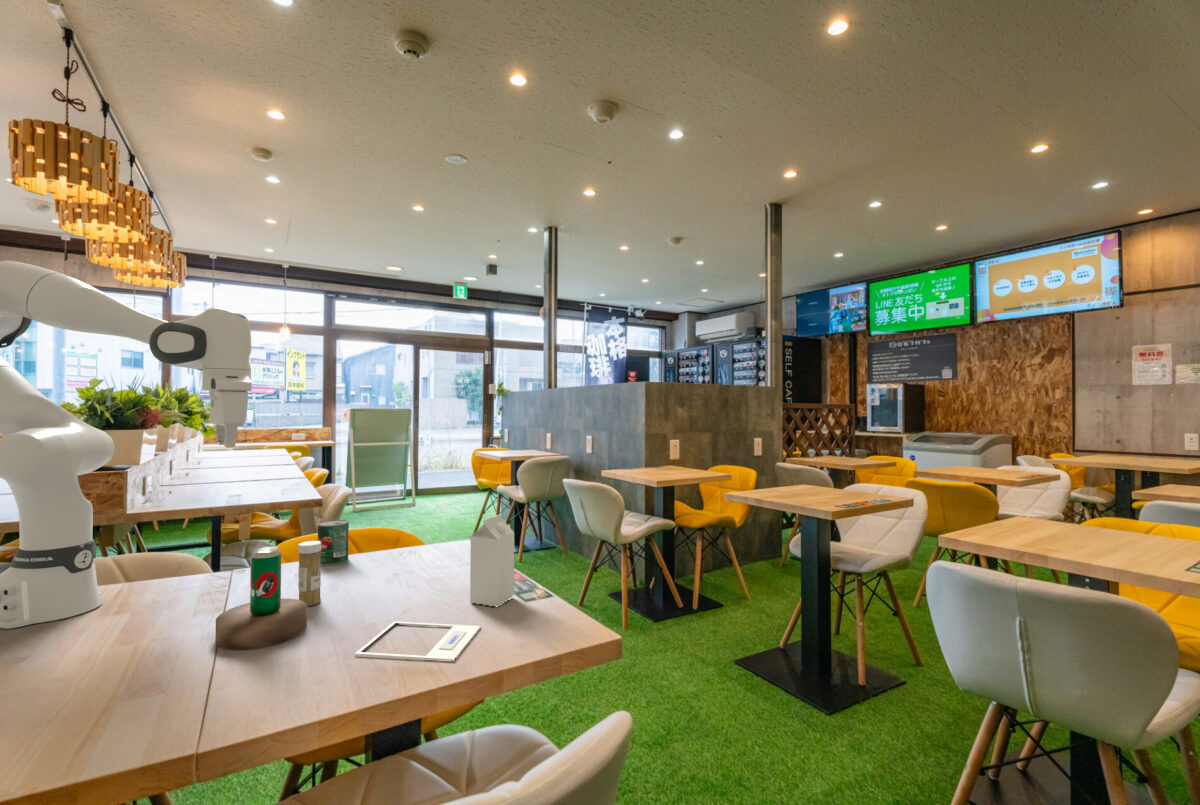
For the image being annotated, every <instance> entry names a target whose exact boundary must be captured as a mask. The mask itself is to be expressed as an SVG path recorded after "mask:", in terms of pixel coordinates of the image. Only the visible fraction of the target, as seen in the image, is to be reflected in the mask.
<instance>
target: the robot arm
mask: <svg viewBox="0 0 1200 805" xmlns="http://www.w3.org/2000/svg"><path fill="white" fill-rule="evenodd" d="M33 321H34V322H37V323H41V324H43V325H47V326H49V327H54V328H58V329H62V330H67V331H73V332H80V333H87V334H97V335H106V336H112V337H113V336H115V337H121V338H127V339H132V340H135V341H139V342H140V343H143V344H146V345H149V350H150V351H151V354H152V356H153V357H154V358H155V359H157V360H158V361H159V362H161V363H163V364H166V365H168V366H172V367H179V368H186V369H187V368H188V369H195V370H198V371H202V380H201V381H202V382H201V384H202V385H201V386H202V389H201V390H202V391H209V392H208V393H209V395H208V398H209V400H210V401H209V423H210V424H211V425H215V435H216V444H217V445H219V446H224V447H225V448H227V449H230V448H231V449H232V448H235V447H236V441H237V440H236V439H237V436H238V435H237V434H238V431H239V430H238V427H243V426H244V425H245V423H246V420H247V413H248V412H247V411H248V404H249V403H248V401H249V392H251V391H252V387H253V386H252V380H251V378H252V377H251V376H252V374H251V373H252V368H251V364H250V356H251V353H252V334H251V326H250V325H251V324H250V321H249V319H248V318H247V317H246V316H245V315H244V314H241V313H239V312H236V311H232V310H229V309H225V308H221V307H210V308H207V309H206V310H204V311H203V312H202V313H200V314H197V315H195V316H191V317H188V318H185V319H179V320H176V321H168V320H164V319H161V318H160V317H156V316H153V315H150V314H147V313H144V312H142V311H139V310H137V309H135V308H133V307H131V306H129V305H127V304H126V303H123V302H121V301H120V300H118V299H116V298H115V297H114V298H113V297H112V296H110V295H108V294H106V293H104V292H103V291H101V290H99V289H97V288H95V287H93V286H91V285H90V284H88V283H85V282H84V281H81V280H78V278H75V277H71V276H69V275H67V274H64V273H61V272H59V271H56V270H53V269H49V268H47V267H42V266H37V265H36V264H35V265H34V264H31V263H26V262H21V261H16V260H15V261H14V260H2V261H1V260H0V349H2V348H7V347H10V346H12V344H13V343H14V342H15V340H16V339H17V338H19V337H20V336H22V335H23V334H24V333H25V332H27V330H28V329H29V328H30V326H31V324H32V322H33ZM0 436H1V438H0V478H1V479H2V480H4V481H5V482H6V483H7V484H8V486H9V489H10V490H11V493H12V494H13V497H14V500H15V502H16V506H17V510H18V516H19V517H18V520H19V521H18V522H19V525H18V526H19V547H18V548H17V549H16V550H12V551H8V552H6V554H7V556H6V559H9V558H12V560H11V562H10V565H9V566H10V567H9V568H7V569H5V570H4V571H2V573H0V629H7V630H8V629H15V628H20V627H24V626H29V625H33V624H39V623H45V622H53V621H58V620H62V619H66V618H70V617H75V616H78V615H80V614H81V615H82V614H84V613H86V612H87V613H88V612H90V611H92V610H94V609H96V608H98V607H100V606H101V605H102V604H103V601H102V599H101V598H102V593H101V591H99V586H98V579H97V571H96V564H95V563H94V559H95V558H94V557H95V556H96V548H97V545H96V540H95V539H93V526H94V524H93V523H94V522H93V521H94V515H93V514H94V511H93V510H94V508H93V504H92V502H91V501H90V500H89V499H87V497H85V495H84V494H83V491H82V488H81V486H80V484H79V479H78V476H81V475H86V474H90V473H92V472H95V471H96V470H98V469H100V468H101V467H103V466H105V465H107V463H109V462H110V461H111V460H112V459H113V456H114V453H115V447H116V446H115V442H114V440H113V438H112V437H111V436H110V434H109V433H107V432H105V431H104V430H102V429H99V428H96V427H94V426H93V425H91V424H88V423H86V422H85V421H83V420H82V419H80V418H79V417H77V416H76V415H75V414H73V413H71V412H69V411H68V410H66V409H65V408H63V407H62V406H60V405H58V404H57V403H56V402H54V401H52V400H51V399H49V398H48V397H47V396H46V395H44V394H43V393H42V392H40V391H39V389H37V388H36V387H35V386H34V385H33V384H32V383H31V382H30V381H28V379H26V377H24V376H23V375H22V374H21V373H20V372H19V371H18V370H17V369H16V368H14V367H13V365H11V364H10V363H9V362H8V361H7V360H6V359H5V358H3V356H2V355H1V354H0ZM8 554H9V555H8Z"/></svg>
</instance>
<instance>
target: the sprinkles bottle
mask: <svg viewBox="0 0 1200 805" xmlns="http://www.w3.org/2000/svg"><path fill="white" fill-rule="evenodd" d="M297 549H298V550H297V553H298V600H301V601H303V602H305V603H306V604H307V607H311V606H315V605H317V604H319V603H321V601H322V599H321V586H322V585H321V578H322V577H321V575H322V573H321V569H322V568H321V565H320V552H321V542H320V541H318V540H308V541H303V542H301V543H298V547H297Z"/></svg>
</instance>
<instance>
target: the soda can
mask: <svg viewBox="0 0 1200 805" xmlns="http://www.w3.org/2000/svg"><path fill="white" fill-rule="evenodd" d="M249 574H250V576H249V577H250V578H249V579H250V581H249V583H250V584H249V586H250V587H249V589H250V590H249V593H250V594H249V597H250V598H249V603H250V613H251V614H252V615H254V616H266V615H271V614H274V613H276V612H277V611H278V610H279V609H280V607H281V599H282V598H281V597H282V596H281V595H282V587H281V586H282V553H281V552H280V548H279V547H273V546H271V547H262V548H257V549H254V550H253V551H252V555H251V556H250V573H249Z"/></svg>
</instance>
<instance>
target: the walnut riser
mask: <svg viewBox="0 0 1200 805" xmlns="http://www.w3.org/2000/svg"><path fill="white" fill-rule="evenodd" d="M307 613H308V606H307V604H306V603H305V602H303V601H301V600H299V599H298V598H297V599H296V598H281V607H280V609H279V610H278V611H277V612H276V613H274V614H271V615H266V616H254V615H252V614H251V613H250V602H248V603H244V604H240V605H236V606H233V607H231V608H229V609H227V610H225V611H223V612H221V613H220V614H218V615H217V616H216V618H215V645H216V646H217V647H219V648H221V649H225V650H230V651H245V650H255V649H262V648H266V647H271V646H274V645H280V644H282V643H285V642H287V641H290V640H292V639H295V638H296V637H298V636H300V635H301V634H302V633H304V631H306V629H307V627H308V626H307V624H308V623H307V622H308V615H307Z"/></svg>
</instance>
